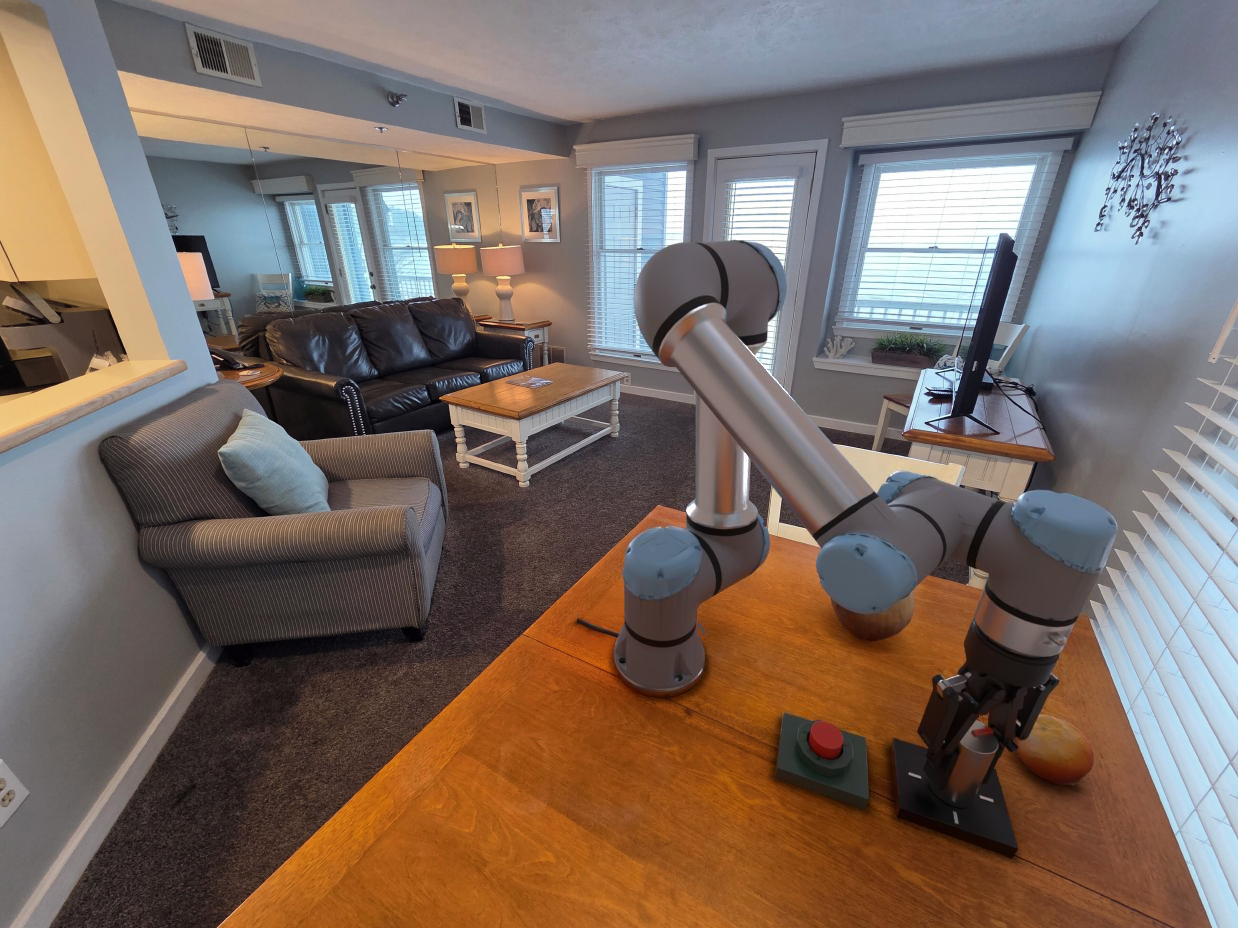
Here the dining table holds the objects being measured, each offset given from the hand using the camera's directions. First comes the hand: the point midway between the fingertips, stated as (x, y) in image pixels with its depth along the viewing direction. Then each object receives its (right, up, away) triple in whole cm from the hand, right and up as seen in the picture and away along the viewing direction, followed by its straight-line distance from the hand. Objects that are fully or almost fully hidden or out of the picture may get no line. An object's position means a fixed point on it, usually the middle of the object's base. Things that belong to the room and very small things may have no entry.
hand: (954, 775), depth 62 cm
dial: (0, -2, +1) cm, 2 cm away
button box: (-14, -2, +6) cm, 16 cm away
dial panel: (0, -4, +2) cm, 4 cm away
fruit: (+16, -2, +6) cm, 17 cm away
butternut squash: (+3, +9, +29) cm, 31 cm away
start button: (-14, +1, +5) cm, 15 cm away
